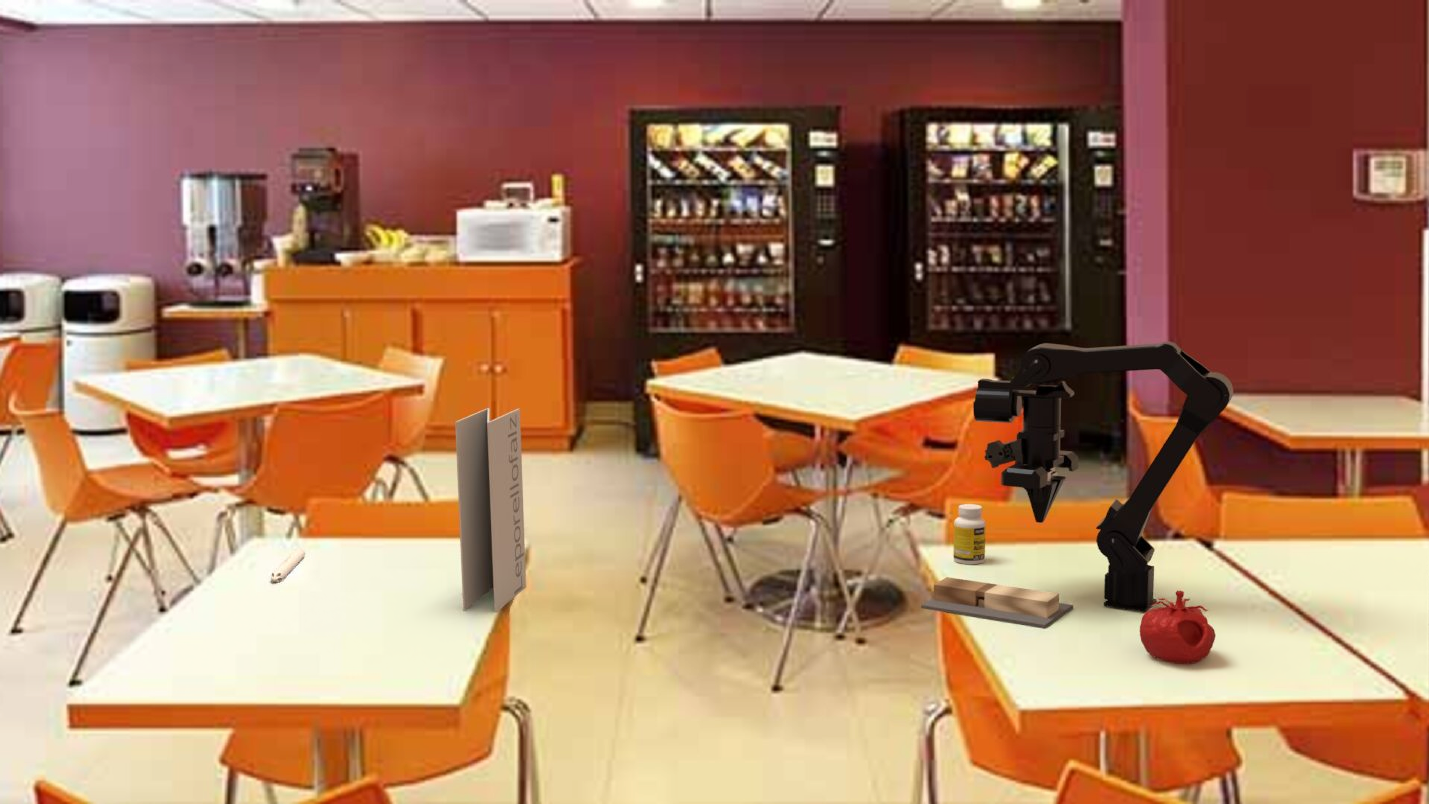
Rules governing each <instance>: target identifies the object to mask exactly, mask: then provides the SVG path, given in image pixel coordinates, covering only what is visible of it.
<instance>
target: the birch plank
mask: <svg viewBox="0 0 1429 804" xmlns="http://www.w3.org/2000/svg"><path fill="white" fill-rule="evenodd" d="M1059 603H1060V593H1055V592H1050V591H1042V590H1035V589H1031V588H1030V589H1029V588H1024V587H1023V588H1022V587H1017V586H1016V587H1015V586H1010V585H1003V584H997V585H996V586H994V587H993V588H991V589H989V590H988V591H986V592H985V597H981V598H980V599H978V606H981V607H984V608H987V609H993V610H1000V611H1006V612H1012V613H1019V614H1025V615H1031V616H1037V617H1044V618H1048V617H1049V616H1050V615H1052V614H1053V613H1055V612H1056V611H1058V610H1059Z"/></svg>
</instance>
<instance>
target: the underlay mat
mask: <svg viewBox="0 0 1429 804" xmlns="http://www.w3.org/2000/svg"><path fill="white" fill-rule="evenodd" d="M920 608H921V609H925V610H931V611H937V612H941V613H948V614H955V615H961V616H966V617H967V616H968V617H972V618H973V617H974V618H980V619H986V620H992V621H998V622H1003V623H1004V622H1005V623H1010V624H1011V623H1012V624H1017V625H1022V626H1023V625H1024V626H1029V627H1035V628H1041V629H1046V628H1048V627H1049V626H1050V625H1052V624H1053V623H1055V622H1056V621H1057V620H1058V619H1060V618H1061V617H1062V616H1064V615H1065V614H1067V613H1068V612H1070V611H1071V610H1073V608H1074V604H1070V603H1063V602H1059V610H1058V611H1056V612H1055V613H1053V614H1052V615H1050V616H1049V617H1048V618H1044V617H1037V616H1031V615H1025V614H1019V613H1012V612H1006V611H1000V610H993V609H987V608H984V607H981V606H978V605H977V606H968V605H962V604H956V603H950V602H943V601H937V600H934V597H933V598H931V599H929V600H927V601H926V602H924V603H922V604H921V605H920Z"/></svg>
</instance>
